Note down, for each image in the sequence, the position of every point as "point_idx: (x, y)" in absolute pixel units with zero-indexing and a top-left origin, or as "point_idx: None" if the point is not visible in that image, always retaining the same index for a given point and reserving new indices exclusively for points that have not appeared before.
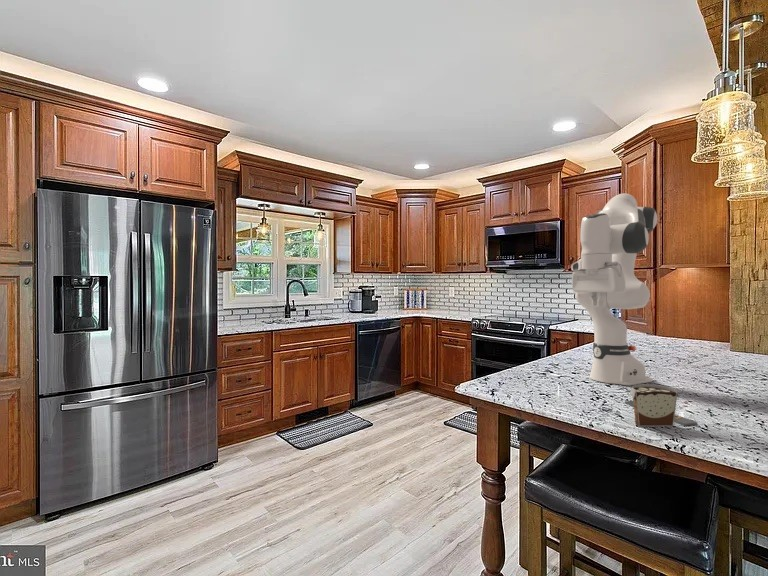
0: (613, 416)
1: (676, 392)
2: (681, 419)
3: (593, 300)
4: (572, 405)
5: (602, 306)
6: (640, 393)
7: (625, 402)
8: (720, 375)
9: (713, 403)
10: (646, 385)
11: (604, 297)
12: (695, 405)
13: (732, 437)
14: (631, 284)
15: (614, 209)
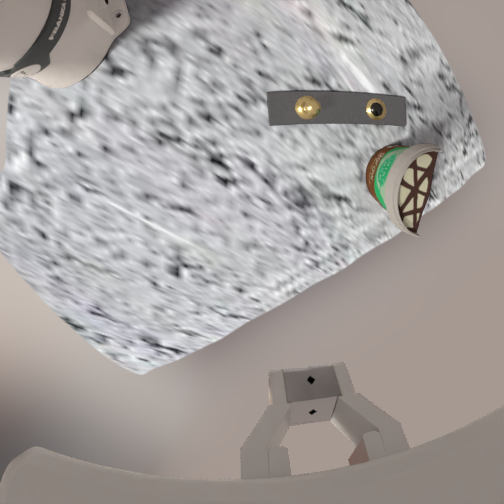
0: (338, 212)
1: (438, 151)
2: (389, 110)
3: (286, 429)
4: (262, 250)
5: (341, 364)
6: (418, 223)
7: (271, 125)
8: None
9: None
10: (400, 179)
11: (384, 417)
12: None
13: (445, 104)
14: None
15: None
